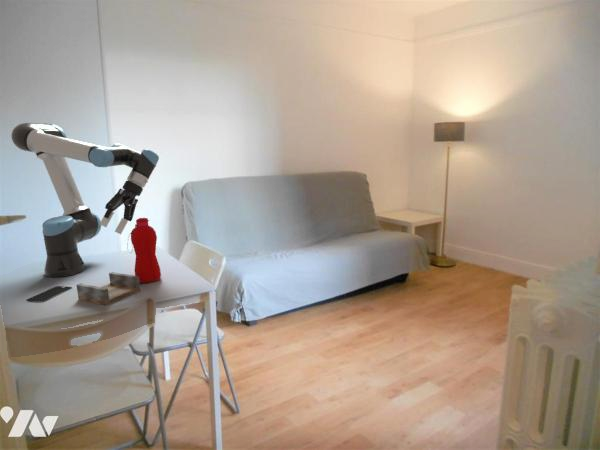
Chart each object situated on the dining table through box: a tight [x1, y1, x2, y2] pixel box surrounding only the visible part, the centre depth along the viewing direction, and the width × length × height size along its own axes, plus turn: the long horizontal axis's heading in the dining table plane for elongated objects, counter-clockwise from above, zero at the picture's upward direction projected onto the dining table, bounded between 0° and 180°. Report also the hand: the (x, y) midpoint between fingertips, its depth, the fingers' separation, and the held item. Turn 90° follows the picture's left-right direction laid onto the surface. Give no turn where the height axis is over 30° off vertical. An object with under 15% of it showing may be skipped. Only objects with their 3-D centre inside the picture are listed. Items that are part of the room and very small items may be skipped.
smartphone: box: [25, 285, 73, 303], centre depth 151 cm, size 8×1×15 cm
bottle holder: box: [76, 271, 141, 306], centre depth 148 cm, size 14×15×6 cm
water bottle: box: [126, 217, 162, 284], centre depth 161 cm, size 9×11×25 cm
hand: (110, 229), depth 168 cm, fingers open, 13 cm apart
